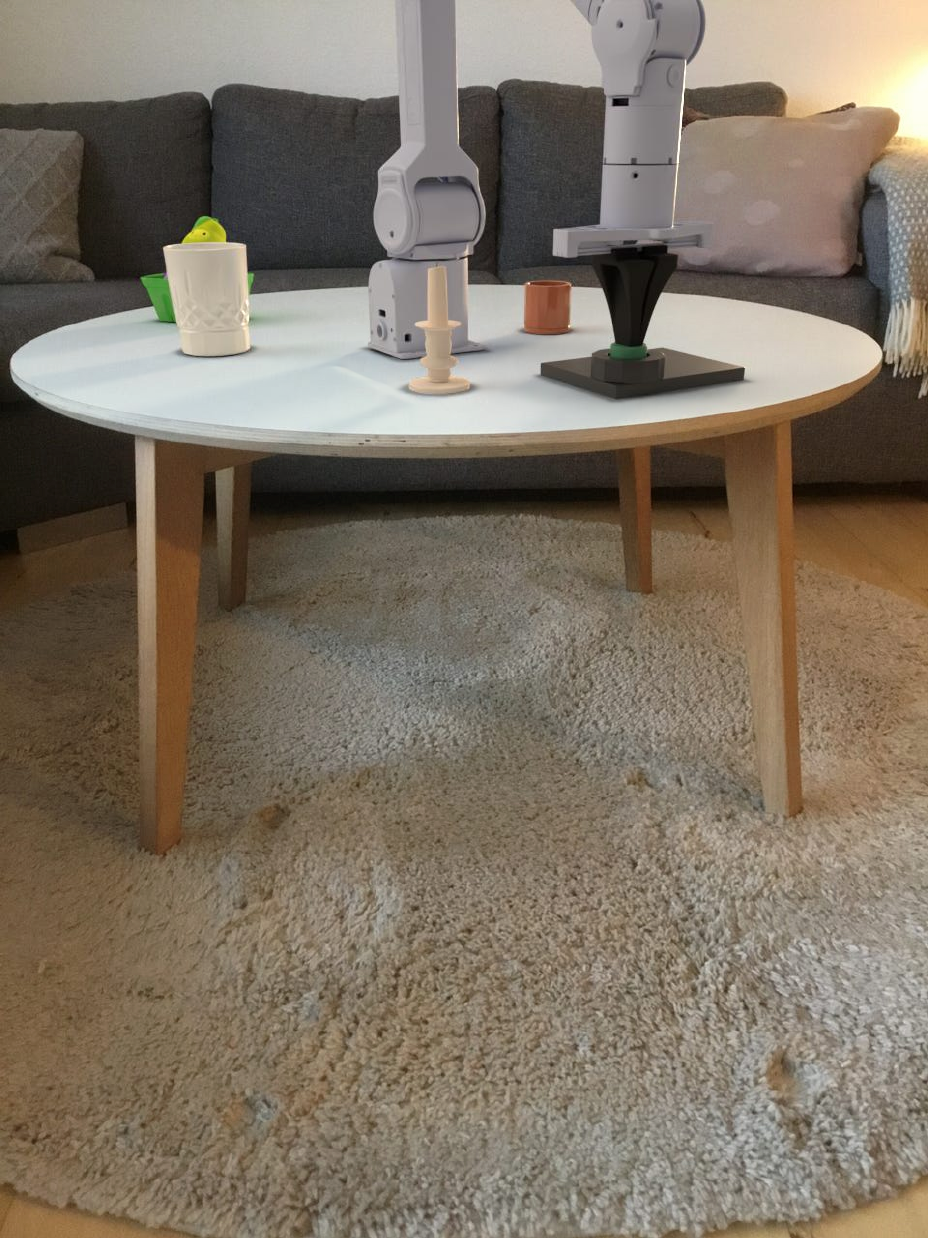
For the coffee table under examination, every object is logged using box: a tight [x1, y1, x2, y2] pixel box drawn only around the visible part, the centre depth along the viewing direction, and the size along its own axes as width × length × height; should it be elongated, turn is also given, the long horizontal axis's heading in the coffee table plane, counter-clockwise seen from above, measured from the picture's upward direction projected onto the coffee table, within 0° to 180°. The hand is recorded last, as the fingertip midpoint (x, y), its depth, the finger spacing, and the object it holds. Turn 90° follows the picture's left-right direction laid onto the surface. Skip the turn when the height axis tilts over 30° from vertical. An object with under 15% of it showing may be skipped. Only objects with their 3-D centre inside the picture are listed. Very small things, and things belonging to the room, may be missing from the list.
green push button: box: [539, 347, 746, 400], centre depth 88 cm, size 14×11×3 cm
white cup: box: [162, 241, 251, 357], centre depth 100 cm, size 8×8×10 cm
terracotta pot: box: [523, 280, 572, 335], centre depth 111 cm, size 5×5×5 cm
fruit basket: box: [140, 215, 255, 323], centre depth 118 cm, size 11×9×11 cm
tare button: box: [609, 341, 648, 359], centre depth 84 cm, size 3×3×2 cm
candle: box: [408, 260, 471, 395], centre depth 84 cm, size 5×5×10 cm
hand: (628, 344), depth 83 cm, fingers closed, pressing on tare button
